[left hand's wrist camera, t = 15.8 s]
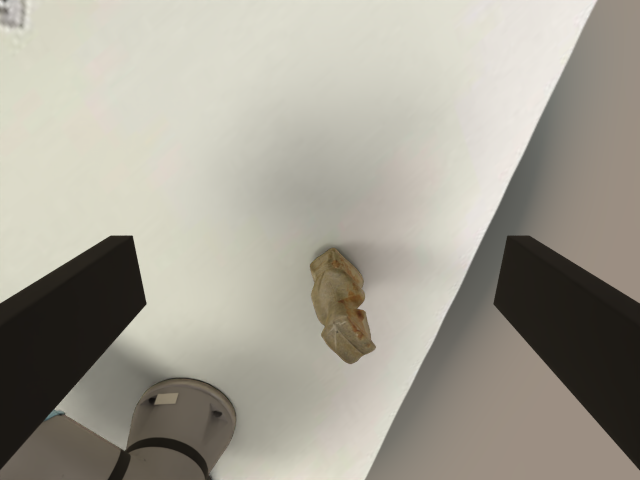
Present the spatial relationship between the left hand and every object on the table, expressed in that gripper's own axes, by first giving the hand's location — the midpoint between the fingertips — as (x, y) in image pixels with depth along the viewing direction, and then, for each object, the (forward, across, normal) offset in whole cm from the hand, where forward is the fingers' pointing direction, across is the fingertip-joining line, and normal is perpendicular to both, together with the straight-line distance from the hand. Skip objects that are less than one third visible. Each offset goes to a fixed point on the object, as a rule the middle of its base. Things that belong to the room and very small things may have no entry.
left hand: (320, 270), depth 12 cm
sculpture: (+30, -2, +14) cm, 34 cm away
